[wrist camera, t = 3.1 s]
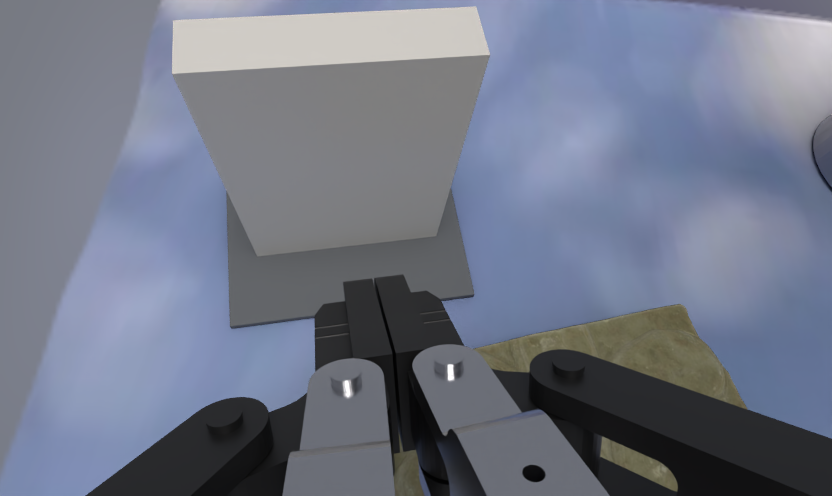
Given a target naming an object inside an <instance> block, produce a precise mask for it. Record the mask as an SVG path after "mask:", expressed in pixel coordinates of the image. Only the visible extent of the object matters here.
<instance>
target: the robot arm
mask: <svg viewBox="0 0 832 496" xmlns="http://www.w3.org/2000/svg"><path fill="white" fill-rule="evenodd" d="M813 150H814V154H815V159H816V162H817V164H818V166H819V169H820V171H821V173H822V174H823V176H824V177H825V179H826V180H827V182H828V183H829V185H830V186H831V187H832V114H831V115H830V116H829V117H827V118H826V119H825V120H824V121H822V123H821V124H820V125H819V127H818V128H817V130H816V133H815V136H814V141H813ZM343 288H344V298H345V301H342V302H334V303H327V304H323V305H322V306H321V308H320V309H319V310H318V312H317V313H316V314H315V373H314V374H313V375H312V376H311V378H310V380H309V384H308V391H307V393H306V394H305V395H304V396H303V397H301V398H300V399H298V400H297V401H295V402H293V403H291V404H289V405H287V406H285V407H282V408H280V409H277V410H274V411H272V412H269V413H268V410H267V407H266V406H265V405H264V404H263V403H262V402H260V401H258V400H256V399H252V398H246V397H236V398H229V399H224V400H221V401H218V402H215V403H212V404H210V405H208V406H206V407H204V408H202V409H201V410H199V411H198V412H196V413H195V414H194V415H192V416H191V417H190V418H188V419H187V420H186V421H184V422H183V423H182V424H180V425H179V426H178V427H176V428H175V429H174V430H172V431H171V432H170V433H168V434H167V435H166V436H164V437H163V438H162V439H160V440H159V441H158V442H156V443H155V444H154V445H152V446H151V447H150V448H148V449H147V450H146V451H145V452H143V453H142V454H141V455H139V456H138V457H137V458H135V459H134V460H133V461H131V462H130V463H129V464H127V465H126V466H125V467H123V468H122V469H121V470H119V471H118V472H117V473H115V474H114V475H113V476H111V477H110V478H109V479H107V480H106V481H105V482H103V483H102V484H101V485H99V486H98V487H97V488H95V489H94V490H93V491H91V492H90V493H89V494H87V495H86V496H395V488H394V478H393V477H394V474H395V460H394V454H396V453H400V444H399V435H400V439H401V444H402V448H403V452H406V451H412V450H416V452H417V456H418V464H419V480H420V484H421V487H422V490H423V492H424V495H425V496H832V439H831V438H828V437H825V436H822V435H819V434H816V433H813V432H810V431H808V430H805V429H802V428H799V427H796V426H793V425H790V424H787V423H784V422H782V421H779V420H776V419H773V418H770V417H767V416H764V415H761V414H759V413H756V412H753V411H750V410H747V409H744V408H741V407H738V406H736V405H733V404H730V403H727V402H724V401H721V400H718V399H715V398H712V397H710V396H707V395H704V394H701V393H698V392H695V391H692V390H689V389H687V388H684V387H681V386H678V385H675V384H672V383H669V382H666V381H664V380H661V379H658V378H655V377H652V376H649V375H646V374H643V373H640V372H638V371H635V370H632V369H629V368H626V367H623V366H620V365H617V364H615V363H612V362H609V361H606V360H603V359H600V358H597V357H594V356H592V355H589V354H586V353H583V352H579V351H574V350H567V349H556V350H549V351H545V352H542V353H540V354H538V355H537V356H535V357H534V358H533V359H532V361H531V363H530V368H529V372H511V371H501V370H495V369H492V368H490V367H489V365H488V364H487V362H486V361H485V360H484V358H483V357H482V356H481V355H480V354H479V353H478V352H477V351H475V350H473V349H471V348H469V347H465V346H464V345H463V343H462V341H461V339H460V337H459V335H458V333H457V331H456V329H455V327H454V325H453V323H452V321H451V320H450V318H449V316H448V314H447V312H446V311H445V308H444V306H443V304H442V302H441V300H440V299H439V298H438V297H436V296H435V295H433V294H431V293H430V292H428V291H427V290H426V291H419V292H411V291H410V289H409V287H408V284H407V282H406V279H405V277H404V275H403V274H401V275H393V276H385V277H377V278H374V283H373V280H372V278H369V279H361V280H353V281H345V282H343ZM602 437H605V438H607V439H609V440H611V441H614V442H616V443H618V444H621V445H623V446H625V447H627V448H630V449H632V450H634V451H636V452H639V453H641V454H643V455H645V456H648V457H650V458H652V459H654V460H657V461H658V462H660V463H662V464H663V465H665V466H666V467H667V468H668V469H669V470H670V471H671V472H672V474H673V475H674V477H675V479H676V481H677V485H678V490H677V491H673V490H671V489H669V488H666V487H664V486H662V485H660V484H658V483H656V482H654V481H651V480H649V479H647V478H645V477H643V476H641V475H639V474H637V473H634V472H632V471H630V470H628V469H626V468H624V467H622V466H619V465H617V464H615V463H613V462H611V461H609V460H607V459H605V458H602V457H600V455H601V445H602Z"/></svg>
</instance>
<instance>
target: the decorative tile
mask: <svg viewBox="0 0 832 496" xmlns="http://www.w3.org/2000/svg"><path fill="white" fill-rule="evenodd" d="M556 349H567V350H574V351H579V352H583V353H586V354H589V355H592V356H594V357H597V358H600V359H603V360H606V361H609V362H612V363H615V364H617V365H620V366H623V367H626V368H629V369H632V370H635V371H638V372H640V373H643V374H646V375H649V376H652V377H655V378H658V379H661V380H664V381H666V382H669V383H672V384H675V385H678V386H681V387H684V388H687V389H689V390H692V391H695V392H698V393H701V394H704V395H707V396H710V397H712V398H715V399H718V400H721V401H724V402H727V403H730V404H733V405H736V406H738V407H741V408H744V409H747V407H746V405H745V404H744V402H743V401H742V399H741V398H740V396H739V393H738V391H737V389H736V387H735V385H734V383H733V382H732V380H731V377H730V375H729V373H728V372H727V371H726V369H725V368H724V367H723V366H722V364H721V363H720V361H719V360H718V358H717V357H716V355H715V354H714V353H713V351H712V350H711V349H710V348H709V346H708V345H707V344H706V343H705V342H703V341H702V340H701V339H700V338H699V336H698V335H697V333H696V331H695V329H694V327H693V325H692V323H691V321H690V319H689V317H688V313H687V310H686V308H685V306H683V305H681V304H678V305H671V306H665V307H660V308H655V309H650V310H646V311H642V312H637V313H632V314H627V315H622V316H618V317H614V318H609V319H605V320H600V321H596V322H591V323H586V324H580V325H575V326H570V327H566V328H561V329H557V330H552V331H547V332H541V333H536V334H531V335H527V336H524V337H520V338H516V339H512V340H508V341H504V342H500V343H496V344H492V345H488V346H484V347H480V348H475V349H473V350H475V351H477V352H478V353H479V354H480V355H481V356H482V357H483V358H484V360H485V361H486V362H487V364H488V365H489V367H490V368H492V369H495V370H501V371H511V372H529V368H530V363H531V361H532V359H533V358H534V357H535V356H537V355H538V354H540V353H542V352H545V351H549V350H556ZM399 444H400V453H396V454H394V460H395V474H394V477H393V478H394V488H395V496H425V495H424V492H423V490H422V487H421V484H420V480H419V464H418V456H417V452H416V450H412V451H406V452H403V448H402V444H401V439H400V435H399ZM600 457H602V458H605V459H607V460H609V461H611V462H613V463H615V464H617V465H619V466H622V467H624V468H626V469H628V470H630V471H632V472H634V473H637V474H639V475H641V476H643V477H645V478H647V479H649V480H651V481H654V482H656V483H658V484H660V485H662V486H664V487H666V488H669V489H671V490H673V491H677V490H678V485H677V481H676V479H675V477H674V475H673V474H672V472H671V471H670V470H669V469H668V468H667V467H666V466H665V465H663V464H662V463H660V462H658V461H657V460H654V459H652V458H650V457H648V456H645V455H643V454H641V453H639V452H636V451H634V450H632V449H630V448H627V447H625V446H623V445H621V444H618V443H616V442H614V441H611V440H609V439H607V438H605V437H602V445H601V455H600Z"/></svg>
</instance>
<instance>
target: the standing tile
mask: <svg viewBox="0 0 832 496" xmlns="http://www.w3.org/2000/svg"><path fill="white" fill-rule="evenodd" d="M489 57H490V53H489V49H488V46H487V42H486V39H485V36H484V32H483V29H482V25H481V22H480V18H479V15H478V11H477V8H476V7H457V8H435V9H413V10H391V11H368V12H346V13H324V14H302V15H280V16H257V17H235V18H213V19H191V20H173V53H172V75H173V77H174V79H175V81H176V83H177V86H178V88H179V90H180V92H181V94H182V96H183V98H184V101H185V103H186V105H187V107H188V109H189V111H190V113H191V116H192V118H193V120H194V122H195V124H196V126H197V128H198V131H199V133H200V135H201V137H202V139H203V141H204V143H205V146H206V148H207V150H208V152H209V154H210V156H211V158H212V161H213V163H214V165H215V167H216V169H217V171H218V173H219V176H220V178H221V180H222V182H223V184H224V186H225V188H226V191H227V193H228V195H229V197H230V199H231V201H232V203H233V206H234V208H235V210H236V212H237V214H238V216H239V218H240V220H241V223H242V225H243V227H244V229H245V231H246V233H247V235H248V238H249V240H250V242H251V244H252V246H253V248H254V250H255V253H256V255H257V256H266V255H275V254H284V253H292V252H301V251H310V250H319V249H328V248H337V247H346V246H354V245H363V244H372V243H381V242H390V241H399V240H408V239H417V238H425V237H434V236H436V235H437V232H438V228H439V225H440V222H441V218H442V215H443V211H444V208H445V205H446V201H447V198H448V195H449V191H450V188H451V185H452V181H453V178H454V174H455V171H456V168H457V164H458V161H459V158H460V154H461V151H462V148H463V144H464V141H465V137H466V134H467V131H468V127H469V124H470V121H471V117H472V114H473V111H474V107H475V104H476V100H477V97H478V94H479V90H480V87H481V84H482V80H483V77H484V74H485V70H486V67H487V63H488V60H489Z"/></svg>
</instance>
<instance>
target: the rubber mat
mask: <svg viewBox="0 0 832 496" xmlns="http://www.w3.org/2000/svg"><path fill="white" fill-rule="evenodd" d="M226 192H227V191H226ZM227 231H228V269H229V307H230V327H231V328H240V327H247V326H255V325H262V324H270V323H278V322H285V321H293V320H300V319H308V318H315V314H316V313H317V312H318V310H319V309H320V308H321V306H322V305H323V304H327V303H334V302H342V301H345V298H344V288H343V282H345V281H353V280H361V279H369V278H372V280H373V283H374V278H377V277H385V276H393V275H401V274H403V275H404V277H405V279H406V282H407V284H408V287H409V289H410V291H411V292H419V291H426V290H427V291H428V292H430V293H431V294H433V295H435V296H436V297H438V298H439V299H440V300H441V301H444V300H452V299H459V298H467V297H473V296H474V290H473V286H472V281H471V277H470V272H469V268H468V263H467V259H466V254H465V250H464V245H463V241H462V236H461V232H460V227H459V223H458V218H457V214H456V209H455V205H454V200H453V196H452V191H451V188H450V191H449V195H448V198H447V201H446V205H445V208H444V211H443V215H442V218H441V222H440V225H439V228H438V232H437V235H436V236H434V237H425V238H417V239H408V240H399V241H390V242H381V243H372V244H363V245H354V246H346V247H337V248H328V249H319V250H310V251H301V252H292V253H284V254H275V255H266V256H257V255H256V253H255V250H254V248H253V246H252V244H251V242H250V240H249V238H248V235H247V233H246V231H245V229H244V227H243V225H242V223H241V220H240V218H239V216H238V214H237V212H236V210H235V208H234V206H233V203H232V201H231V199H230V197H229V195H228V193H227Z"/></svg>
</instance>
